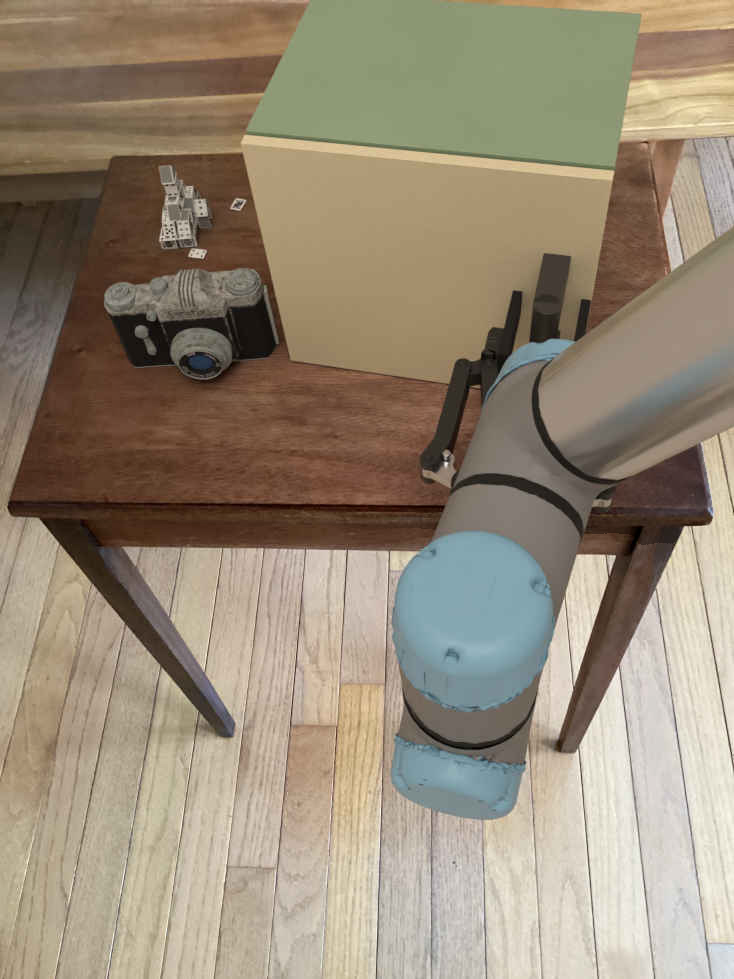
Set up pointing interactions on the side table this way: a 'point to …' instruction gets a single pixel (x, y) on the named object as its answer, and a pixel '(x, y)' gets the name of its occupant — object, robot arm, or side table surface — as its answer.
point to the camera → (194, 320)
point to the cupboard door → (421, 251)
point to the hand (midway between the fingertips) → (550, 307)
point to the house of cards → (184, 213)
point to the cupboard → (455, 80)
